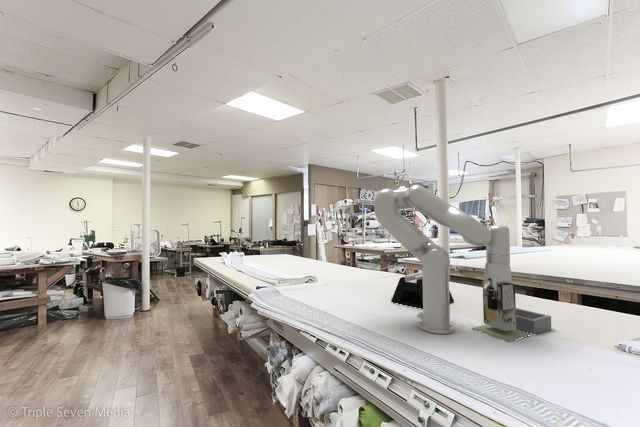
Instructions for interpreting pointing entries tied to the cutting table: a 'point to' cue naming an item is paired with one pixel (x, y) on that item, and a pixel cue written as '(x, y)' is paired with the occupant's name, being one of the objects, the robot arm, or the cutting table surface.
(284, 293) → the cutting table surface
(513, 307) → the coffee box
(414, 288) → the device stand
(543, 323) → the grey open frame
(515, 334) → the mat
